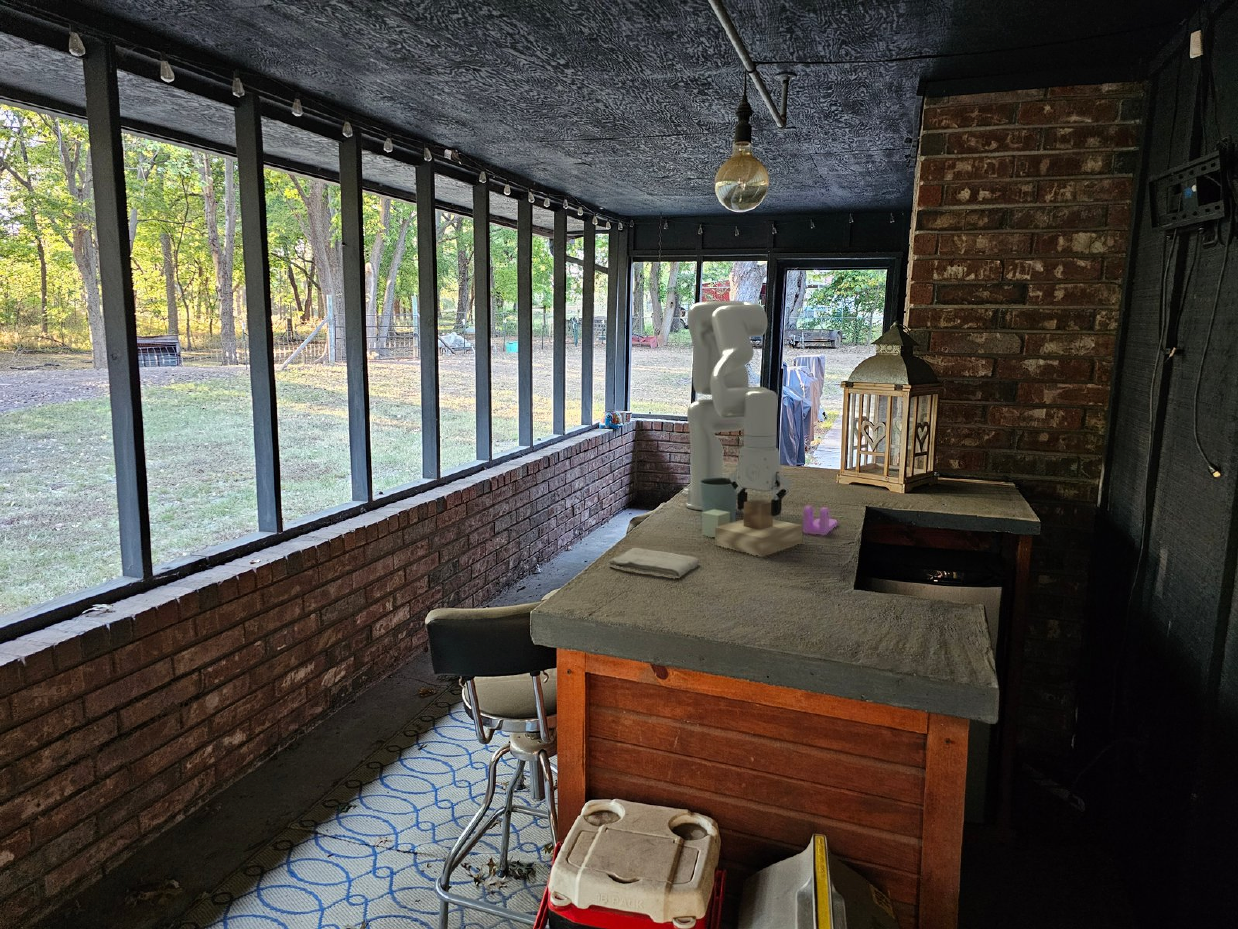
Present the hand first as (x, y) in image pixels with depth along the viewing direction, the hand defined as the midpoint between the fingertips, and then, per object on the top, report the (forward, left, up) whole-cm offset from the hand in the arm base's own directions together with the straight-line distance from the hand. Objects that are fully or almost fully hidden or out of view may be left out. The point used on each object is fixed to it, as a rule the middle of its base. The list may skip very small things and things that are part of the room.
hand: (758, 512), depth 188 cm
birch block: (0, 0, -8) cm, 9 cm away
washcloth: (-7, -30, -9) cm, 32 cm away
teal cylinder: (-19, +9, -8) cm, 23 cm away
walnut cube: (0, 0, -4) cm, 4 cm away
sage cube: (-13, 0, -8) cm, 15 cm away
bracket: (+4, +23, -8) cm, 25 cm away
